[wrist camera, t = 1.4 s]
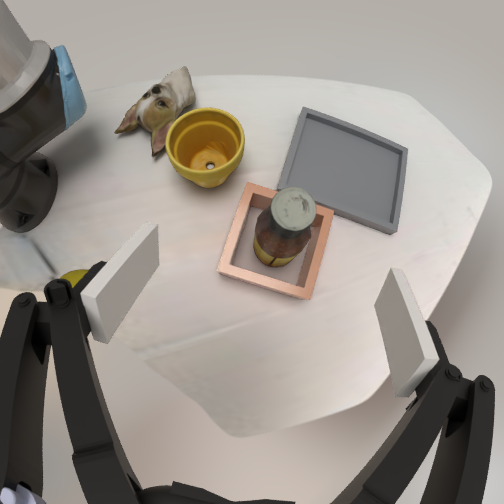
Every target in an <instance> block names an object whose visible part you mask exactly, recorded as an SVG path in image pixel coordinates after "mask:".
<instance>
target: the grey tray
mask: <svg viewBox="0 0 504 504" xmlns="http://www.w3.org/2000/svg"><path fill="white" fill-rule="evenodd" d="M407 154H408V149H407V148H405V147H403V146H401V145H399V144H397V143H395V142H392V141H390V140H388V139H386V138H384V137H381V136H379V135H377V134H374V133H372V132H370V131H367V130H365V129H363V128H360V127H358V126H355V125H353V124H350V123H348V122H345V121H342V120H340V119H337V118H335V117H332V116H329V115H326V114H323V113H321V112H318V111H315V110H312V109H309V108H306V107H303V108H302V111H301V113H300V117H299V120H298V123H297V126H296V129H295V133H294V136H293V139H292V142H291V145H290V149H289V152H288V155H287V158H286V162H285V165H284V168H283V171H282V174H281V178H280V181H279V184H278V187H277V190H276V191H278V192H279V191H280V190H282V189H283V188H287V187H298V188H302V189H303V190H305V191H307V192H308V193H309V194H310V195H311V196H312V198H313V200H314V202H315V204H316V205H319V206H322V207H325V208H328V209H331V210H333V211H334V214H336V215H338V216H341V217H344V218H347V219H349V220H352V221H355V222H358V223H360V224H363V225H366V226H368V227H371V228H374V229H376V230H379V231H381V232H384V233H386V234H389V235H391V234H393V233H395V232H397V229H398V224H399V217H400V211H401V205H402V198H403V190H404V182H405V174H406V164H407Z"/></svg>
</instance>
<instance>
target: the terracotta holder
mask: <svg viewBox="0 0 504 504" xmlns="http://www.w3.org/2000/svg"><path fill="white" fill-rule="evenodd" d="M276 193H278V191H275V190H272V189H268V188H265V187H262V186H259V185H256V184H252V183H249V182H247V183H246V186H245V189H244V192H243V195H242V198H241V201H240V204H239V206H238V209H237V212H236V215H235V218H234V221H233V224H232V227H231V230H230V233H229V236H228V239H227V242H226V245H225V248H224V251H223V254H222V257H221V260H220V263H219V266H218V269H217V271H218V273H219V274H221V275H224V276H227V277H230V278H233V279H237V280H240V281H243V282H246V283H249V284H252V285H255V286H259V287H262V288H265V289H268V290H271V291H275V292H278V293H281V294H284V295H288V296H291V297H294V298H297V299H301V300H310V299H311V295H312V292H313V289H314V285H315V282H316V278H317V275H318V271H319V267H320V264H321V260H322V257H323V253H324V249H325V245H326V242H327V238H328V234H329V230H330V226H331V222H332V218H333V214H334V211H333V210H331V209H328V208H325V207H322V206H319V205H316V217H315V220H314V221H313V223H312V226H313V229H312V233H311V238H310V240H309V244H308V247H307V251H306V254H305V258H304V261H303V265H302V268H301V272H300V275H299V279H298V282H297V285H293V284H289V283H286V282H283V281H280V280H277V279H273V278H270V277H267V276H264V275H261V274H258V273H254V272H251V271H248V270H245V269H242V268H239V267H236V266H233V265H231V264H232V261H233V258H234V255H235V252H236V249H237V246H238V243H239V240H240V237H241V234H242V231H243V228H244V225H245V222H246V219H247V216H248V213H249V210H250V207H251V206H254V207H257V208H260V209H263V210H265V209H266V208H268V207H269V206H270V204H271V201H272V199H273V197H274V196H275V194H276Z"/></svg>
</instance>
